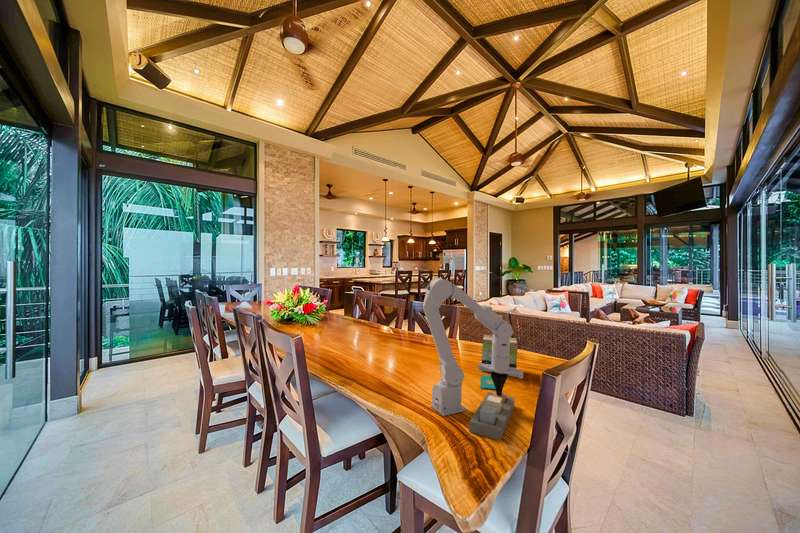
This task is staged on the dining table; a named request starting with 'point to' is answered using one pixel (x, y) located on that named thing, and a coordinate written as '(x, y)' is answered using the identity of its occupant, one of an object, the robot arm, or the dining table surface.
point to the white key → (495, 403)
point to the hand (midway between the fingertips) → (499, 394)
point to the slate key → (488, 415)
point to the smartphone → (487, 383)
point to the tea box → (488, 351)
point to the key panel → (501, 422)
